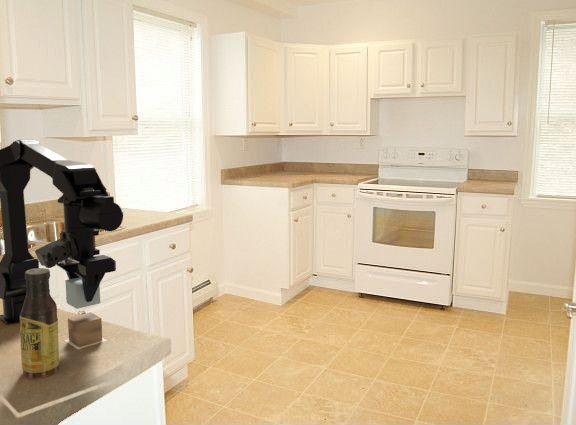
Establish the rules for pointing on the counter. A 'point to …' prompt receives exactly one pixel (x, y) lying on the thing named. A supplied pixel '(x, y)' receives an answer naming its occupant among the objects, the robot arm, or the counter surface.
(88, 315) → the walnut block
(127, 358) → the counter surface
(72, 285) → the bluegrey block
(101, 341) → the pad
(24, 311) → the sauce bottle
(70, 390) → the counter surface
